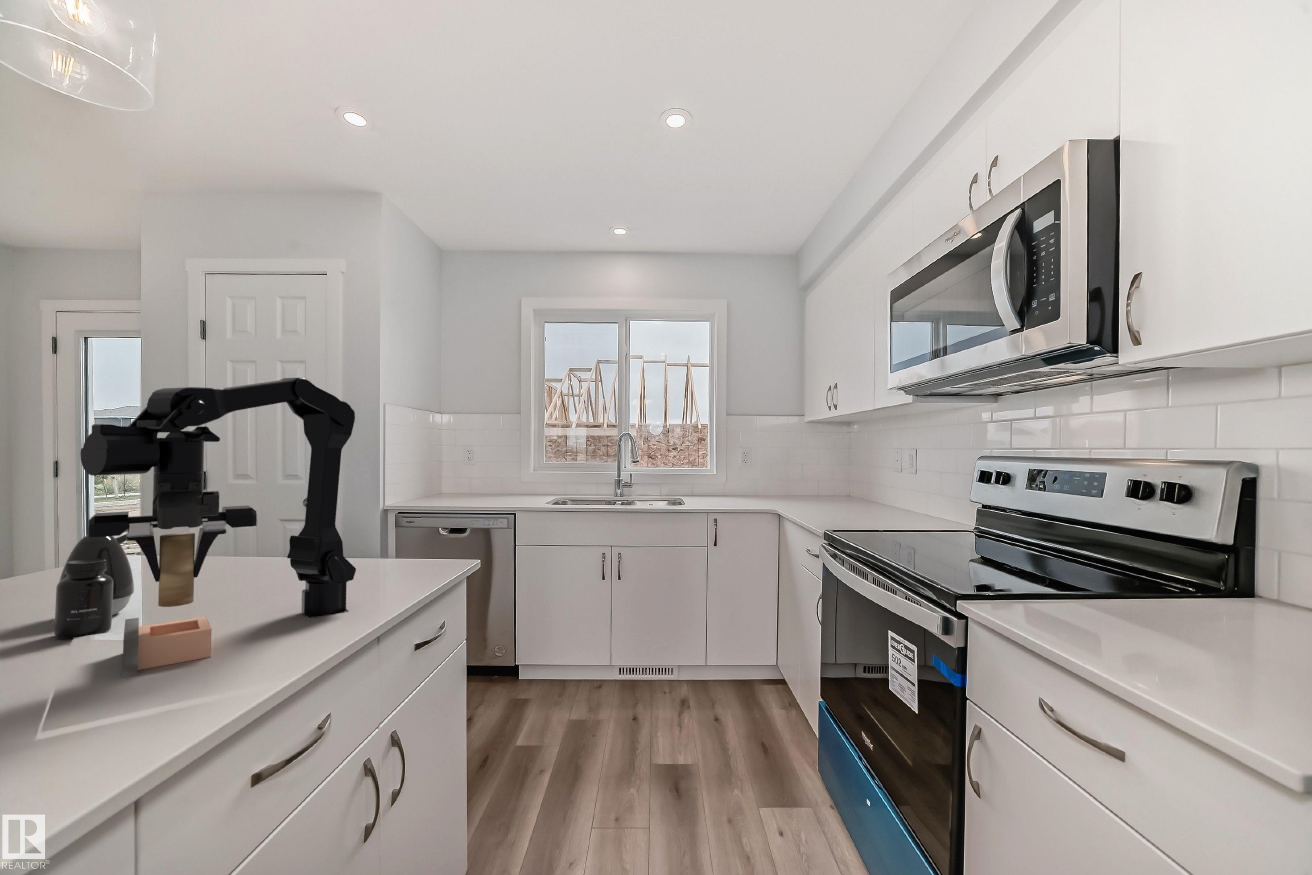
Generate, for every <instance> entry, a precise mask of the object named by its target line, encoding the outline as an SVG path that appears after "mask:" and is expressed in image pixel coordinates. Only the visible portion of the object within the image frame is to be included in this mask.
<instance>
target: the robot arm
mask: <svg viewBox="0 0 1312 875" xmlns="http://www.w3.org/2000/svg"><path fill="white" fill-rule="evenodd" d="M281 403H282V404H283V403H285V404H287V406H288V407H289V408H290V410H291V413H292V414H294V415H295V416H297V417H298V418H300V419H301V420H303V434H304V435H305V438H306V440H307V442H308V443H309V446H310V449H311V450H310V460H309V463H310V464H309V472H308V473H309V474H308V482H307V483H308V484H307V485H308V486H307V495H306V506H305V518H304V524H303V527H302V529H301V530H300V532H299V533H298V535H293V534H292V535H290V537H289V541H288V542H289V550H288V554H287V556H286V559H289V564H290V567H291V568H292V569H293V570H294V571H295V573H296V576H297V578H298V581H300V582H305V587H304V589H302V591H301V613H302V614H303V616H307V617H308V618H310V619H312V618H313V619H314V618H317V617H324V616H330V615H331V616H332V615H337V614H342V613H343V614H344V613H347V612H348V613H349V610H348V609H347V586H348V585H347V583H348V582H350V581H353V580H354V577H355V575H356V571H357V568H356V567H355V566H354V564H352V563H351V562H350V561H349V560H348V559H347V558H346V557H345V556H344V545H343V540H342V536H341V535H340V533H339V531H338V528H337V526H336V521H337V520H336V519H337V510H338V509H337V508H338V497H339V485H340V484H339V483H340V473H341V472H340V471H341V460H342V450H343V448H344V447H345V445H346V444H347V443H348V442H349V441H348V440H349V439H350V438H351V436H352V434H353V429H354V427H355V421H356V413H355V410H354V409H353V408H352V406H351V405H350V404H349V403H348V402H346V401H343V400H340V399H339V398H338V397H337V396H335V395H333V394H332V393H329V391H328V392H327V391H326V390H324V389H321V388H319V387H318V386H316V385H315V384H313V383H312V382H311V381H310V380H308V379H306V378H304V377H284V378H281V379H279V380H273V381H267V382H265V381H264V382H256V383H250V384H245V385H237V386H229V387H223V388H221V387H202V386H201V387H199V386H198V387H195V386H189V387H168V388H167V387H165V388H164V387H162V388H160V389H156V390H154V391H153V392H152V393H151V395H150V396H149V398H148V400H147V403H146V407H144V409H143V410H142V411H141V412H140V413H139V414H138V415H137V416H136V417H135V419H134V420H133V421H132V422H131V423H130V424H128V425H127V426H123V425H122V426H121V425H117V424H116V425H115V424H109V423H107V424H106V423H105V424H104V423H95V424H92V425H91V433H90V434H88V436H87V437H86V439H85V440H84V442H83V447H81V449H80V454H79V455H80V462H81V465H82V468H83V470H84V471H85V472H86V474H87V475H90V476H117V475H119V476H121V475H123V476H124V475H144V474H147V473H148V472H149V471H151V469H152V468H153V478H152V479H153V480H152V481H153V484H152V485H153V486H152V508H151V509H152V512H151V513H152V515H135V516H132V515H131V516H129V513H130V511H110V512H95V514H94V515H92V516H91V517H90V518H89V520H88V534H87V535H88V537H106V536H113V537H117V536H118V537H120V536H122V535H123V533H126V534H127V535H126V541H125V542H136V544H137V545H138V546H139V547H140V550H141V551H142V553H143V554H144V556H145V558H146V562H147V563H148V566H149V568H150V571H151V573H152V576H153V578H154V581H155V583H159V560H158V559H159V558H158V552H157V549H156V548H157V546H156V541H155V536H154V534H155V533H154V529H157V528H158V529H160V530H171V529H173V528H186V527H187V528H189V529H193V528H199V530H198V535H197V543H196V547H195V548H196V549H195V556H194V579H195V578H198V576H199V574H200V572H201V569H202V567H203V564H204V562H205V559H206V556H207V554H208V552H209V550H210V548H211V547H212V545H213V543H214V541H216V539H217V537H218V536H219V535H224V534H226V533H227V531H228V530H227V529H226V526H227V525H228V526H229V527H230V528H233V529H235V528H248V527H249V528H250V527H256V526H257V523H258V522H257V518H258V515H257V510H255V509H254V508H253V507H252V506H249V505H235V506H234V505H231V506H222V509H221V511H220V492H219V491H218V490H213V491H204V470H205V469H204V465H205V464H204V463H205V462H204V461H205V458H204V457H205V443H207V442H208V443H219V442H220V440H221V438H220V437H219V436H218V435H217V434H216V433H214V432H213V431H212V430H211V429H210V428H209V426H202V425H206V424H208V423H211V422H213V421H214V422H215V421H216V420H218V419H219V420H220V419H221V418H223V417H224V416H226V415H227V414H230V413H233V412H236V411H243V410H247V409H253V408H260V407H265V406H270V405H275V404H281ZM188 427H195V428H194V429H193V430H184V429H186V428H188ZM159 433H168V434H166V436H165V437H158V434H159ZM200 526H201V527H200ZM153 528H154V529H153Z"/></svg>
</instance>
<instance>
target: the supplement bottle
mask: <svg viewBox="0 0 1312 875" xmlns="http://www.w3.org/2000/svg"><path fill="white" fill-rule="evenodd" d="M106 570H107V567H106V559H83V560H75V561H70V562H67V564H66V571H65V574H67V578H65V579H63V580H61V581H60V582H59V581H58V583H57V584H56V590H55V608H54V611H55V612H54V624H53V625H54V626H53V627H54V628H53V629H54V632H53V636H54V637H55V638H56V639H59V640H74V638H80V637H88V636H96V635H101V634H105V633H107V632H109V631H110V630H111V629H112V622H113V616H112V605H113V584H114V583H113V579H112V577H110V576H109V575H106V574H104V571H106Z"/></svg>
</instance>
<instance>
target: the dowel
mask: <svg viewBox="0 0 1312 875" xmlns="http://www.w3.org/2000/svg"><path fill="white" fill-rule="evenodd" d="M195 541H196V533H194V532H176V533H166V534H161V535H159V554H158V555H159V556H158V557H159V558H158V559H159V560H158V565H159V582H158V602H157V603H158V605H157V606H158V607H160V608H161V607H162V608H171V607H172V608H173V607H174V608H175V607H179V606H180V607H181V606H186V605H189V604H191V603H194V597H195V596H194V594H195V593H194V590H195V588H194V587H195V578H194V560H195V554H196V549H195V548H196V547H195V546H196V545H195V544H196V542H195Z"/></svg>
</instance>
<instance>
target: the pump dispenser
mask: <svg viewBox="0 0 1312 875" xmlns="http://www.w3.org/2000/svg"><path fill="white" fill-rule="evenodd" d="M126 535H127V533H126V534H122V535H120V536H118V537H117V536H116V537H115V536H106V537H88V534H87V535H85V536H83V537H82V538H80V539H79V540H78V542H77V543H76V544H75V546H74V547H73V549H72V550H71V552H70V554H69V555H68V557H67V559H66V562H65V563H64V566H63V569H62V571H61V573H60V577H59V580H58V583H59V582H60V581H61V580H63V579H65V578H67V574H65V571H66V564H67V562H70V561H75V560H83V559H106V567H107V570H106V571H104V574H106V575H109V576H110V577H112V579H113V583H114V584H113V605H112V617H113V616H114V615H117V614H118V613H120V612H122V611H123V609H125V608H126V607H127V605H128V604H129V602H130V599H131V597H132V595H133V594H134V592H135V584H134V578H133V573H132V568H131V564H130V561H129V558H128V556H127V554H126V552H125V549H124V547H123V546H122V544H124V543H125V542H127V541H126Z"/></svg>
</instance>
